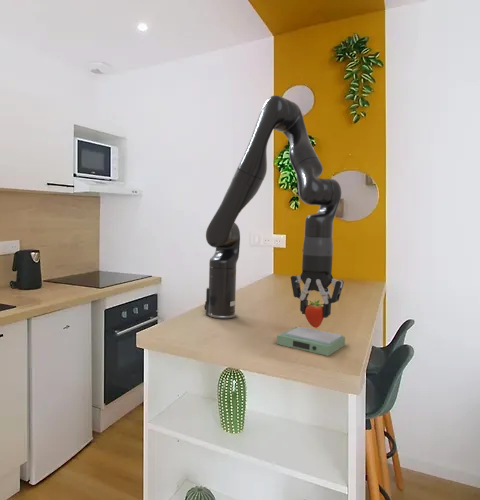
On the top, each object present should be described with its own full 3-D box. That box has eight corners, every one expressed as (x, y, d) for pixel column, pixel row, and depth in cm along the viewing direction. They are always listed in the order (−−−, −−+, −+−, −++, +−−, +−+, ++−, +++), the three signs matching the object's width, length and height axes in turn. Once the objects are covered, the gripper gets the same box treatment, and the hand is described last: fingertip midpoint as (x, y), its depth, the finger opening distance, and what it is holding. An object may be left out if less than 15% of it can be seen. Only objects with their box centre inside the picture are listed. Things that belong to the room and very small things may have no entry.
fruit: (325, 330, 111) (326, 301, 110) (304, 329, 112) (306, 299, 112) (323, 325, 116) (324, 297, 115) (303, 324, 117) (304, 296, 117)
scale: (276, 344, 115) (276, 333, 114) (295, 335, 124) (296, 324, 123) (327, 356, 105) (328, 344, 105) (344, 345, 114) (345, 334, 114)
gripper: (350, 254, 110) (346, 317, 112) (297, 250, 120) (295, 309, 121) (339, 256, 105) (336, 322, 106) (286, 252, 115) (283, 313, 116)
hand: (314, 315), depth 114 cm, fingers closed on fruit, 5 cm apart
